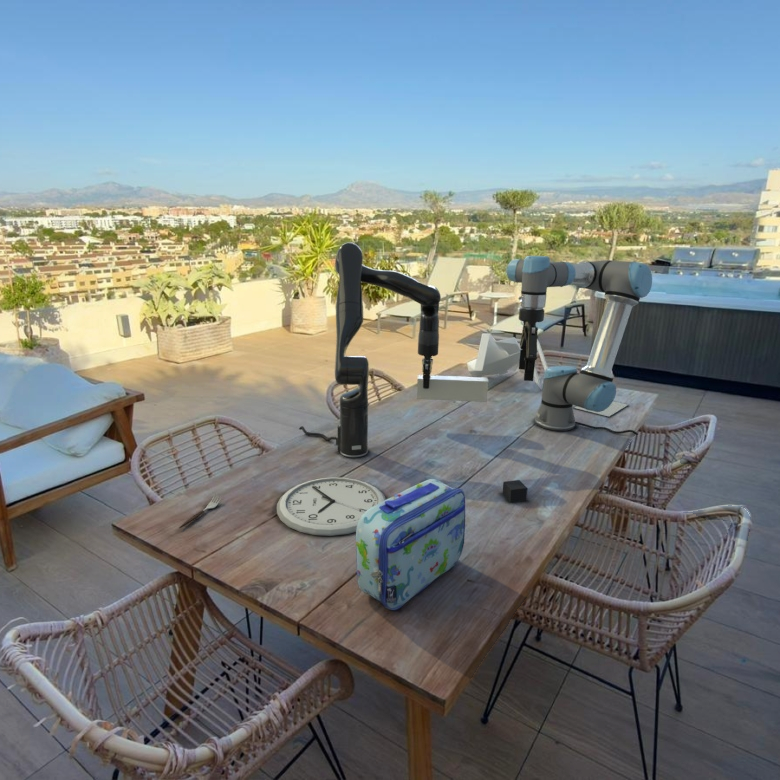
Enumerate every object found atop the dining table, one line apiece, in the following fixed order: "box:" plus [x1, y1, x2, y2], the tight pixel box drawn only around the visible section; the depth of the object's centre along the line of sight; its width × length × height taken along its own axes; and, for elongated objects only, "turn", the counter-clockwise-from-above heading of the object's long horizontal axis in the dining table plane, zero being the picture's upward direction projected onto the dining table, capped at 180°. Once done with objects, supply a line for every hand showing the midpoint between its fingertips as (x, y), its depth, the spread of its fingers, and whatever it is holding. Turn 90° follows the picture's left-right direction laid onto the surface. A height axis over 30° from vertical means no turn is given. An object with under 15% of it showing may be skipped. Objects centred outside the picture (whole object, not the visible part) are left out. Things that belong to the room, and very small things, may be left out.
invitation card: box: [573, 400, 629, 418], centre depth 226 cm, size 21×1×15 cm
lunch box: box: [355, 478, 466, 611], centre depth 110 cm, size 26×11×21 cm, turn 134°
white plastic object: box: [466, 306, 549, 390], centre depth 259 cm, size 37×45×31 cm
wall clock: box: [276, 476, 387, 537], centre depth 142 cm, size 30×2×30 cm
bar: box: [416, 374, 489, 403], centre depth 196 cm, size 26×5×8 cm, turn 85°
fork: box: [178, 493, 223, 529], centre depth 137 cm, size 3×16×2 cm, turn 160°
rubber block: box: [502, 479, 528, 503], centre depth 148 cm, size 5×5×4 cm
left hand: (426, 385), depth 196 cm, fingers closed on bar, 5 cm apart
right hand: (525, 374), depth 166 cm, fingers open, 13 cm apart
